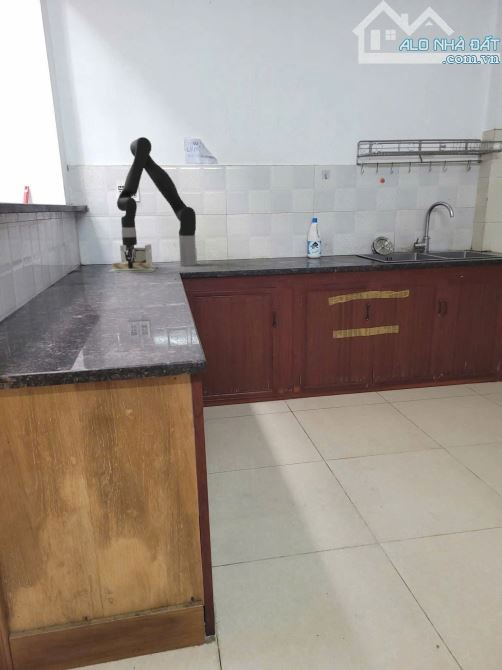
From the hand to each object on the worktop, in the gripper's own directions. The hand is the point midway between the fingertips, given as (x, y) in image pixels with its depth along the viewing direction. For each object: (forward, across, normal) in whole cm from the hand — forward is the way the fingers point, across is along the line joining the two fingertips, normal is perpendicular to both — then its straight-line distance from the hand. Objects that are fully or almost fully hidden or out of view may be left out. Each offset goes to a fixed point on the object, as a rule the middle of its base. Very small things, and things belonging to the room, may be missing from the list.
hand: (131, 267), depth 258 cm
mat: (+2, 0, 0) cm, 2 cm away
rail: (0, 0, 0) cm, 0 cm away
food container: (+2, +22, +2) cm, 22 cm away
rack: (+2, +10, 0) cm, 10 cm away
